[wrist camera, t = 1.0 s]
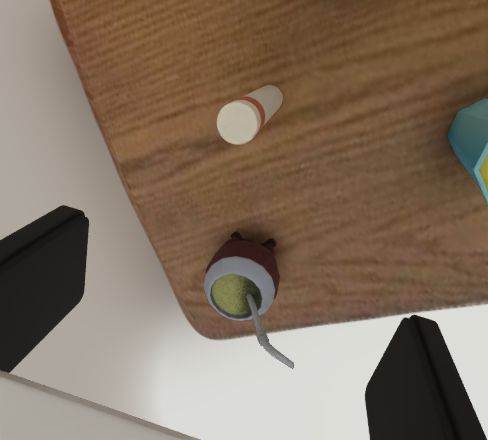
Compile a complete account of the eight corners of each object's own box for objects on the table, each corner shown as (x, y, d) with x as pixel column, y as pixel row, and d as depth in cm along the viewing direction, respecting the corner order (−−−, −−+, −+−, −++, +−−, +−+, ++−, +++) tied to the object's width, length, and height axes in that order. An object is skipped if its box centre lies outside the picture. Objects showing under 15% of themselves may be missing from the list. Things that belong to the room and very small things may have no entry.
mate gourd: (207, 245, 42) (150, 337, 28) (264, 208, 39) (231, 290, 25) (248, 295, 43) (213, 405, 30) (306, 263, 40) (296, 368, 27)
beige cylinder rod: (285, 86, 34) (261, 104, 21) (280, 115, 35) (255, 149, 22) (257, 82, 34) (217, 98, 21) (254, 110, 35) (213, 141, 22)
